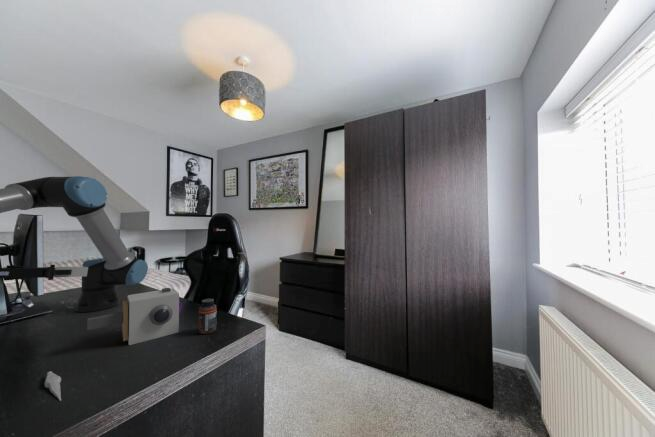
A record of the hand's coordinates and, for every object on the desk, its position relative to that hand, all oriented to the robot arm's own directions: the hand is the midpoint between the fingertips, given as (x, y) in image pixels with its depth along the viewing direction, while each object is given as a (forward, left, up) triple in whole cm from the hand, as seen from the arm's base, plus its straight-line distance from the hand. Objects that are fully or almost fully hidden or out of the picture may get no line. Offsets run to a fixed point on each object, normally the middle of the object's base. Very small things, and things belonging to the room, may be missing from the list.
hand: (85, 271), depth 77 cm
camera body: (+3, +18, -24) cm, 30 cm away
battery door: (+2, +6, -23) cm, 24 cm away
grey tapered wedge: (+22, -4, -25) cm, 33 cm away
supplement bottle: (+13, +33, -25) cm, 43 cm away
